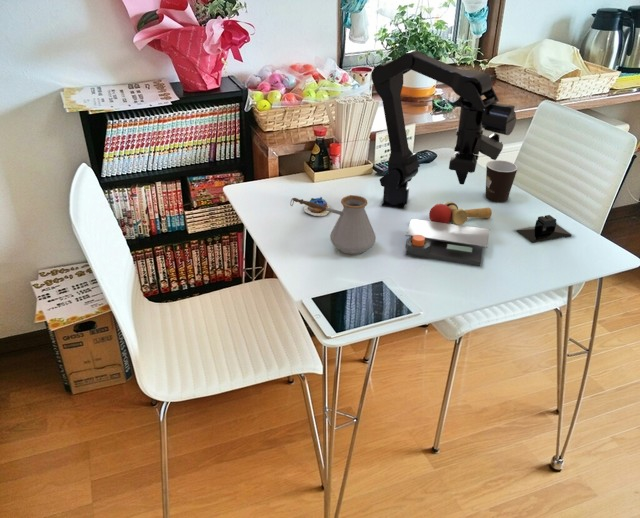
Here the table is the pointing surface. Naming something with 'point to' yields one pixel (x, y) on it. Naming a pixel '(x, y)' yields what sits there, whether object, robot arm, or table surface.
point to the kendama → (456, 213)
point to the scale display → (459, 248)
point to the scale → (444, 252)
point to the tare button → (418, 240)
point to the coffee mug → (499, 180)
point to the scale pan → (449, 232)
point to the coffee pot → (349, 225)
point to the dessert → (314, 210)
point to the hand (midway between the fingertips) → (461, 183)
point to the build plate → (544, 230)
